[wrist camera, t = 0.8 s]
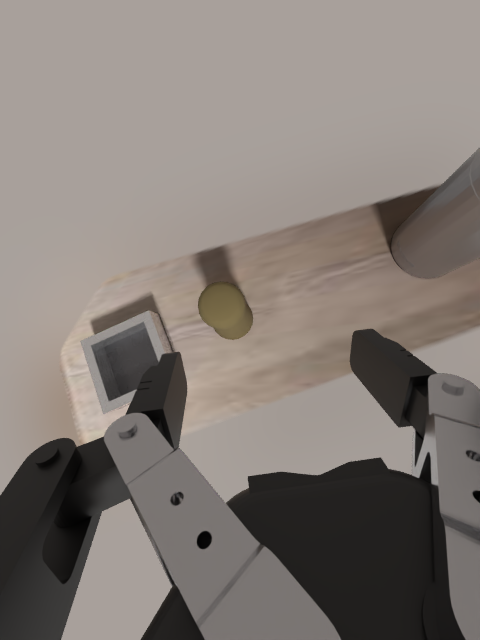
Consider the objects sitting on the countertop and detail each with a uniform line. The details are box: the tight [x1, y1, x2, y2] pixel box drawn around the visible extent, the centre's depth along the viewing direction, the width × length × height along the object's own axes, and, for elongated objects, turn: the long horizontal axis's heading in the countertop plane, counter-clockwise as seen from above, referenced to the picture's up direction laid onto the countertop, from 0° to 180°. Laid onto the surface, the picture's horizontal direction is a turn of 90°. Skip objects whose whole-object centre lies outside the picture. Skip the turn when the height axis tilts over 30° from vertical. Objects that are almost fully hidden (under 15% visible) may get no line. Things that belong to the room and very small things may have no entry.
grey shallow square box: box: [81, 310, 173, 414], centre depth 36 cm, size 10×10×3 cm
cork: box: [198, 282, 253, 340], centre depth 31 cm, size 6×6×11 cm
